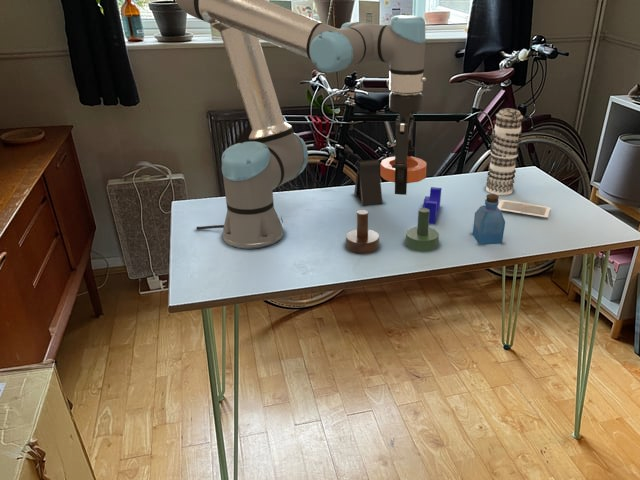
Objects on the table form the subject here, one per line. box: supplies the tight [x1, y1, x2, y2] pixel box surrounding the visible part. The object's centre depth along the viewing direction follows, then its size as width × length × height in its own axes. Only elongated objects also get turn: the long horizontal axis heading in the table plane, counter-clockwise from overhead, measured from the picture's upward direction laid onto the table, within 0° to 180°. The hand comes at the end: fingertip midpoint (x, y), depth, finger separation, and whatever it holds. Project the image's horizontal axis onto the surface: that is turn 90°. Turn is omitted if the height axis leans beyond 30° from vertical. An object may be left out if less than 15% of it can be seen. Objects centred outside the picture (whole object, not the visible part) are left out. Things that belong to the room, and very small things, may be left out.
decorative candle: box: [485, 107, 524, 196], centre depth 178 cm, size 9×9×25 cm
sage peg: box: [405, 207, 440, 252], centre depth 149 cm, size 8×8×10 cm
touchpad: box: [497, 198, 552, 218], centre depth 170 cm, size 8×15×2 cm, turn 70°
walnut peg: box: [345, 209, 380, 255], centre depth 147 cm, size 8×8×10 cm
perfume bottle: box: [472, 193, 506, 245], centre depth 152 cm, size 6×6×12 cm
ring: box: [380, 155, 428, 184], centre depth 139 cm, size 11×11×3 cm
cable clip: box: [422, 186, 442, 225], centre depth 166 cm, size 12×4×6 cm, turn 168°
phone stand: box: [353, 158, 383, 206], centre depth 172 cm, size 9×6×12 cm, turn 19°
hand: (403, 185), depth 141 cm, fingers closed on ring, 11 cm apart
